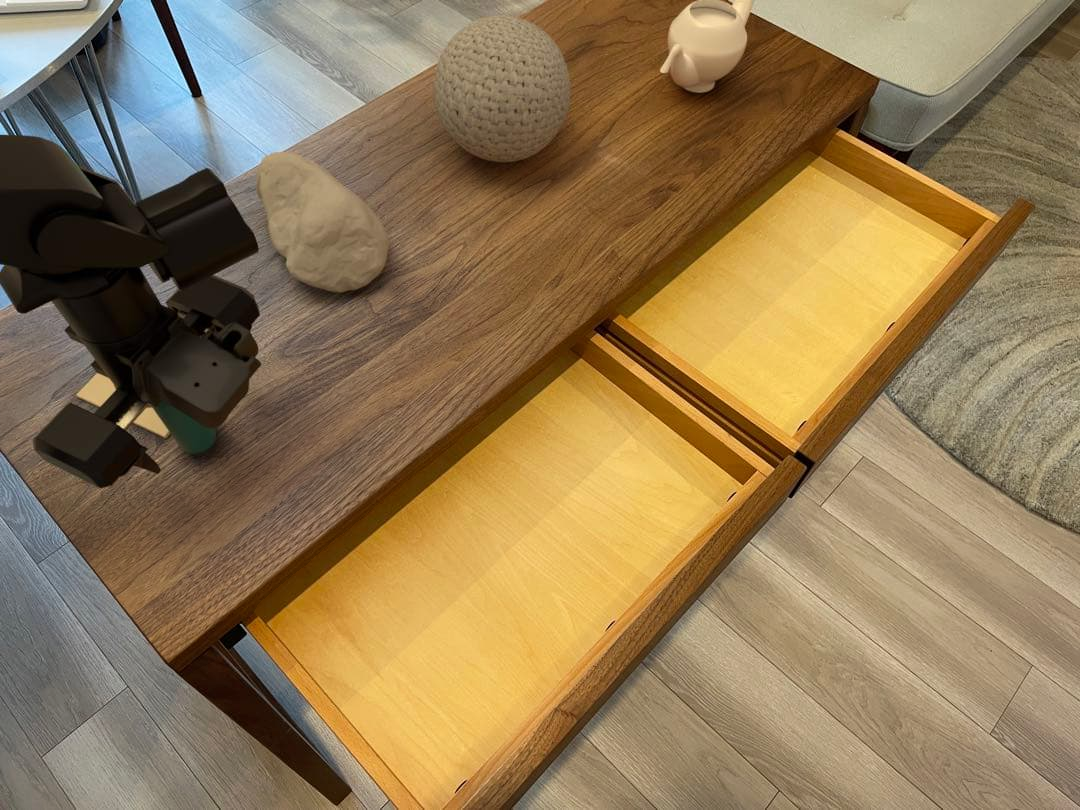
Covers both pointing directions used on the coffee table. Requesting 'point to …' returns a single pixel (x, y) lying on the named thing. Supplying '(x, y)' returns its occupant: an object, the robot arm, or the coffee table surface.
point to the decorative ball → (502, 88)
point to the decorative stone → (320, 224)
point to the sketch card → (104, 388)
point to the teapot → (706, 42)
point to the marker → (186, 430)
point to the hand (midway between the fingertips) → (191, 427)
